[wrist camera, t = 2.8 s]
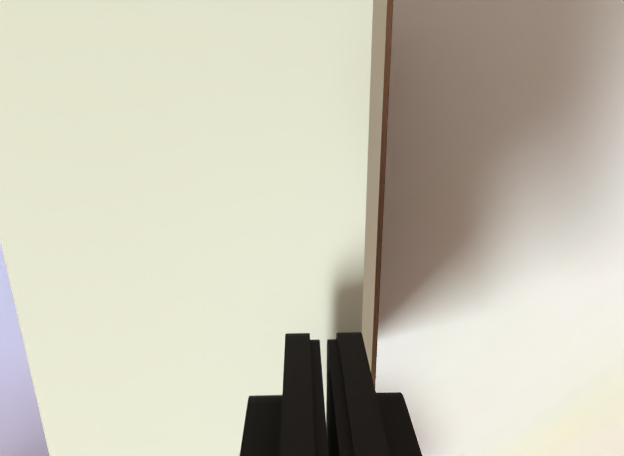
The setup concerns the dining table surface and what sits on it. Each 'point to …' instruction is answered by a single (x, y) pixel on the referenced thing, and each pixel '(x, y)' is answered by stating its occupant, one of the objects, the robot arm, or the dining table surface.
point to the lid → (184, 206)
